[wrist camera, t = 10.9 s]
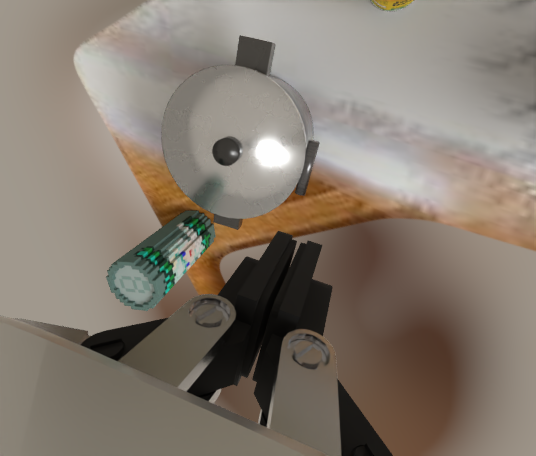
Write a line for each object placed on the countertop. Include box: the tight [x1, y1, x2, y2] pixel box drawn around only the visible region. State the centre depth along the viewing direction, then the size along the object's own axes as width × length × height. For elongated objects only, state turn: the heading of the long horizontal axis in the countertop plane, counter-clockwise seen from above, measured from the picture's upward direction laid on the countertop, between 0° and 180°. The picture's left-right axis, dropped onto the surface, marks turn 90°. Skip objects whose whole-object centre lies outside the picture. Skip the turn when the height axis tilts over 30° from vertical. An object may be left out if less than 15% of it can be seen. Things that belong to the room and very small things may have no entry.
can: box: [106, 211, 216, 311], centre depth 40 cm, size 6×6×15 cm
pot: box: [214, 36, 313, 230], centre depth 34 cm, size 13×19×9 cm
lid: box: [161, 65, 319, 219], centre depth 29 cm, size 15×14×2 cm
